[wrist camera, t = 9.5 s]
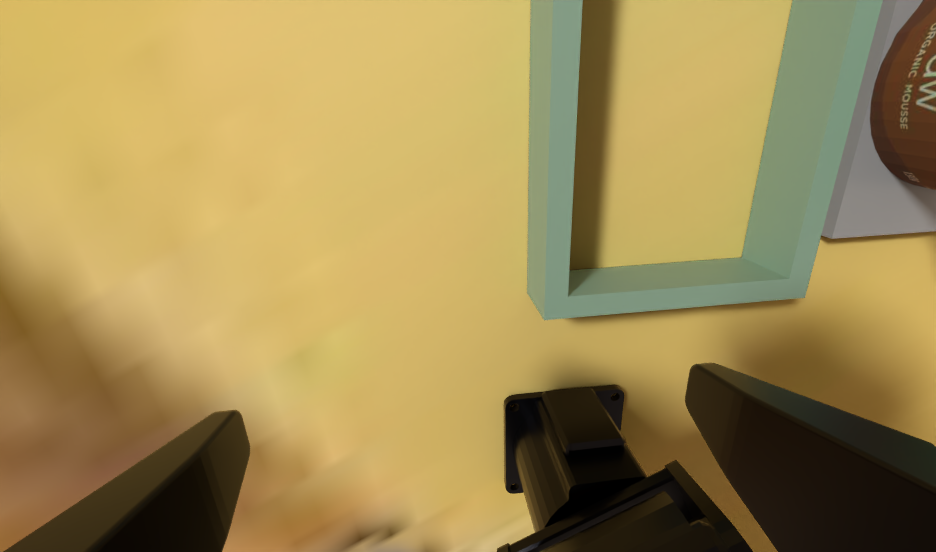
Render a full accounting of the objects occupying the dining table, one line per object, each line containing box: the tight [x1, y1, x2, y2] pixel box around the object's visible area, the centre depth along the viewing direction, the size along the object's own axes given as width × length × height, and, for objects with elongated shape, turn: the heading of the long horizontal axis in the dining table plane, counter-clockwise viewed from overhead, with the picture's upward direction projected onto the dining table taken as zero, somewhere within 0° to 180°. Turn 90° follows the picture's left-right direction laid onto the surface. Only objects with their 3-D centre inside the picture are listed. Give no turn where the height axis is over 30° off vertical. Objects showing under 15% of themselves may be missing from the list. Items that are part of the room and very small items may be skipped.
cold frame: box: [527, 0, 883, 320], centre depth 17 cm, size 18×12×3 cm, turn 2°
